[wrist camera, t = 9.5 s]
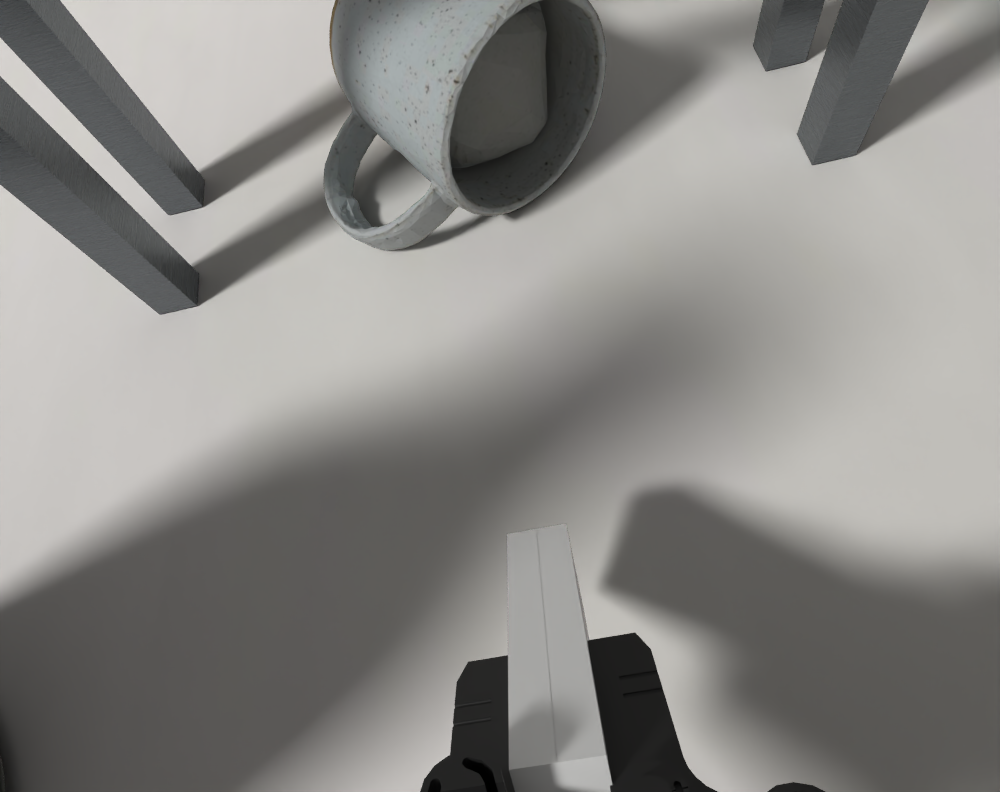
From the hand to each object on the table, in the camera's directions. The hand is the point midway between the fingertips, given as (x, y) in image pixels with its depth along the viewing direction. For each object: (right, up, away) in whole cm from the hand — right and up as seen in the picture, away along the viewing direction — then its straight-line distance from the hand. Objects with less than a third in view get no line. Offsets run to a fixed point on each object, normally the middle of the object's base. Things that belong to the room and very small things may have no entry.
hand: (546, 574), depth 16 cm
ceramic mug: (-3, +14, +11) cm, 18 cm away
